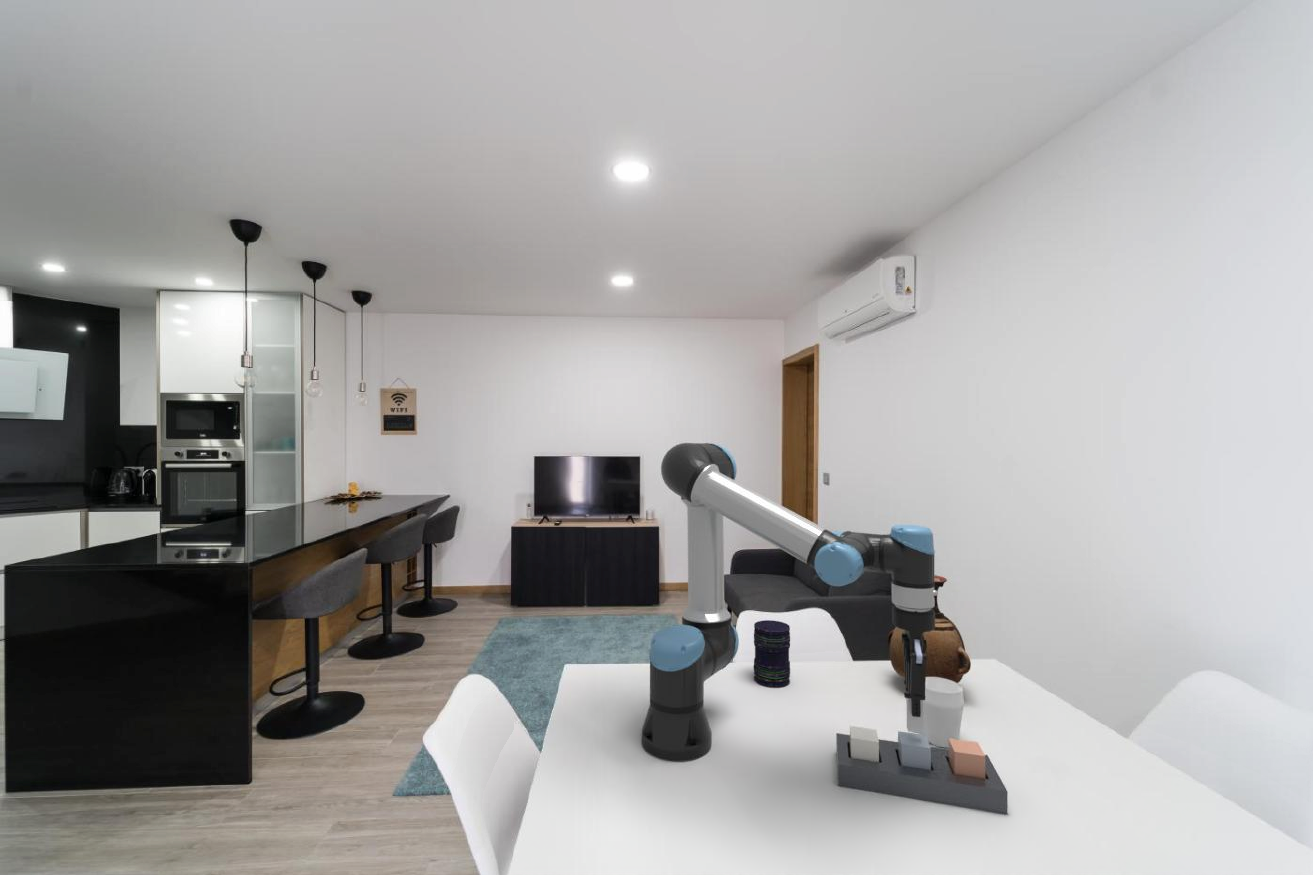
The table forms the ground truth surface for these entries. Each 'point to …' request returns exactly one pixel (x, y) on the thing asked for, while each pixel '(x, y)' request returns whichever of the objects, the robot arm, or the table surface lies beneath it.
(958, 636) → the vase
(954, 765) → the terracotta key
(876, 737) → the ivory key
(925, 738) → the slate key
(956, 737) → the cup
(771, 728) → the table surface
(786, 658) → the storage jar
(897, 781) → the panel
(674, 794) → the table surface
